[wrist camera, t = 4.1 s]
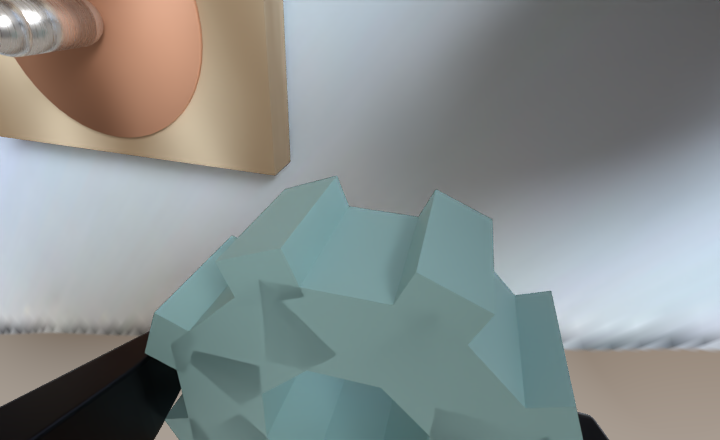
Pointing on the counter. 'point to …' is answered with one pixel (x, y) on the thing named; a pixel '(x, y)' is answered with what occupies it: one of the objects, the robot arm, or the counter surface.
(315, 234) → the loose gear
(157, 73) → the gear board
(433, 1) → the counter surface
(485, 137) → the counter surface
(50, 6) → the steel pegs
